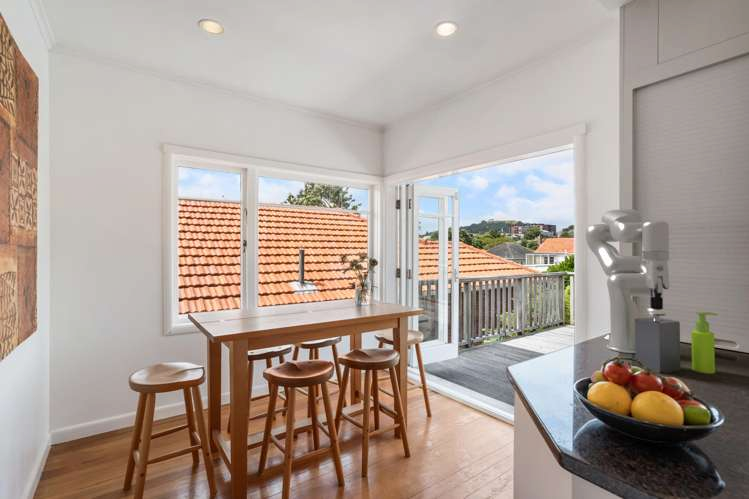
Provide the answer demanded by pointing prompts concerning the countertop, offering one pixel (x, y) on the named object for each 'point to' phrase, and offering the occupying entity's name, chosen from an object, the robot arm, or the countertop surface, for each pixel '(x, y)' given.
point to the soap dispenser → (703, 346)
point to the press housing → (658, 344)
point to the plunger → (656, 313)
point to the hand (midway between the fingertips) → (656, 308)
